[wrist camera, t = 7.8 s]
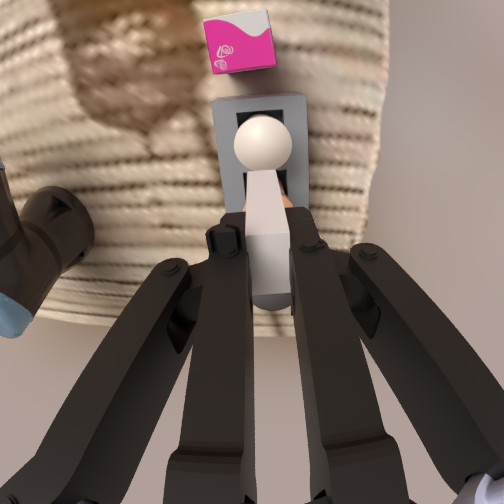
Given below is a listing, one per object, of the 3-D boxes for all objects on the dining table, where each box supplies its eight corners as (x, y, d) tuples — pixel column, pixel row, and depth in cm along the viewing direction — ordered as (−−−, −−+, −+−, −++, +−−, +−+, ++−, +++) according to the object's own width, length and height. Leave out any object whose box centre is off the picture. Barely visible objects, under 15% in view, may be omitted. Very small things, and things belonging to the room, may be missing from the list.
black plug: (251, 261, 39) (250, 312, 31) (247, 227, 36) (245, 275, 28) (290, 258, 39) (298, 308, 31) (289, 224, 36) (299, 271, 28)
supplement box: (217, 33, 28) (201, 17, 18) (266, 26, 27) (271, 6, 18) (224, 75, 31) (212, 75, 22) (273, 68, 30) (281, 65, 21)
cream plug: (241, 149, 34) (237, 174, 27) (236, 108, 31) (230, 120, 24) (283, 146, 34) (293, 170, 26) (281, 105, 31) (290, 115, 23)
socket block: (236, 244, 45) (234, 268, 40) (217, 97, 33) (211, 102, 28) (302, 239, 45) (307, 263, 40) (298, 92, 32) (305, 95, 27)
